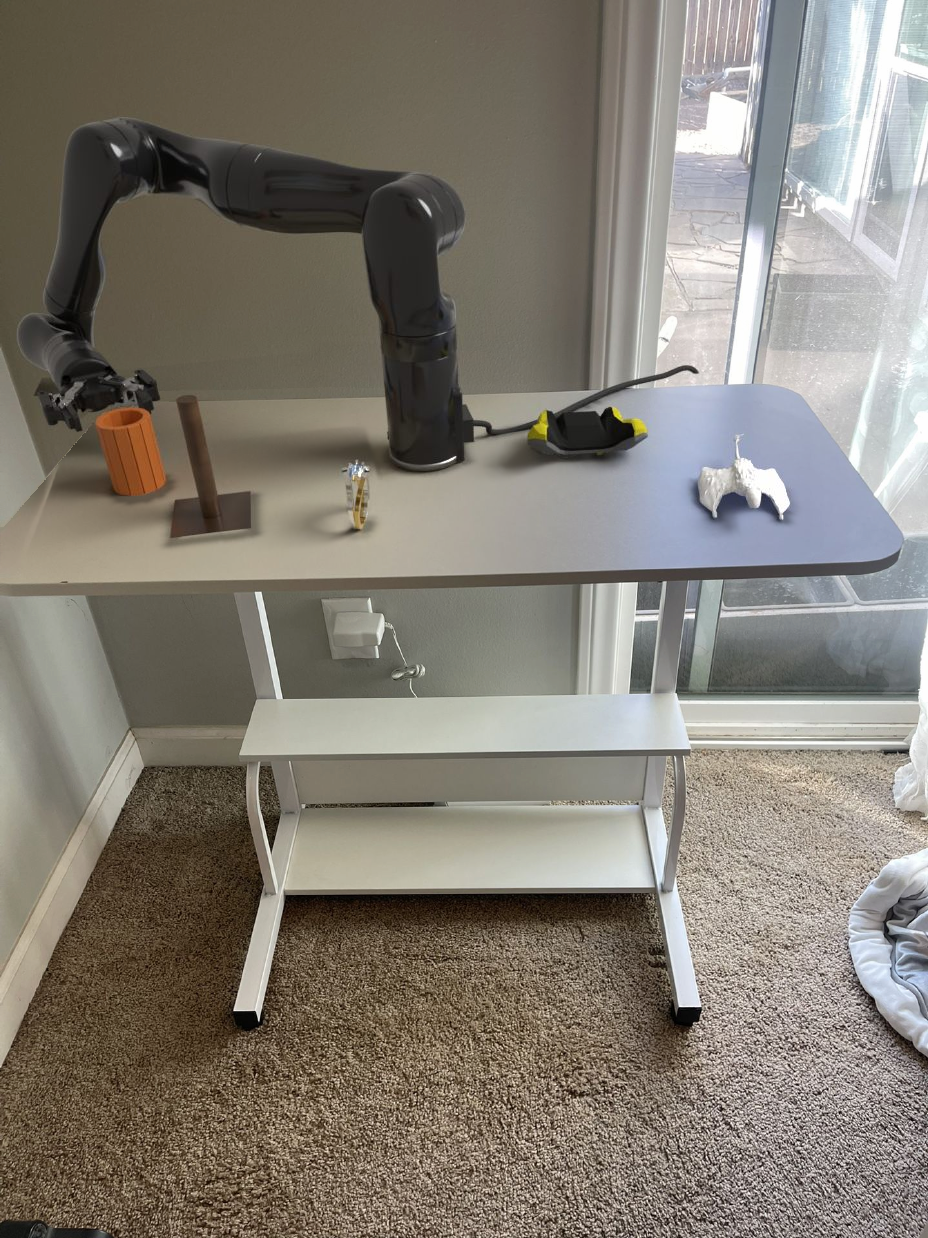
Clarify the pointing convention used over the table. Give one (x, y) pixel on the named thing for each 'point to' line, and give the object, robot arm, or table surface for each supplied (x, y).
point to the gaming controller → (585, 433)
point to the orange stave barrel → (131, 451)
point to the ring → (362, 496)
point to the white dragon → (741, 484)
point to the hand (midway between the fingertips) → (113, 415)
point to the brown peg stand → (205, 485)
